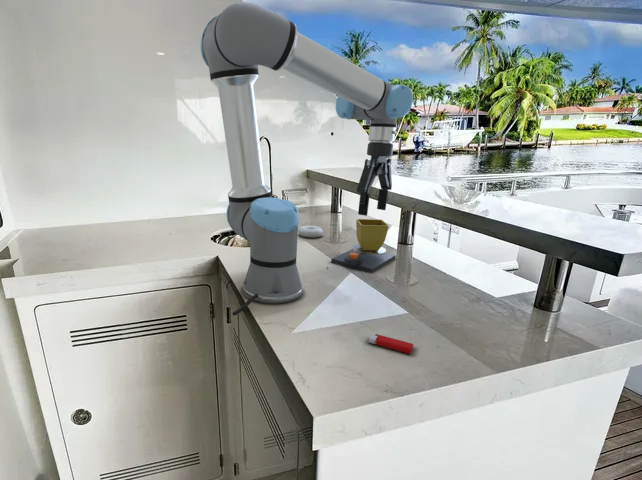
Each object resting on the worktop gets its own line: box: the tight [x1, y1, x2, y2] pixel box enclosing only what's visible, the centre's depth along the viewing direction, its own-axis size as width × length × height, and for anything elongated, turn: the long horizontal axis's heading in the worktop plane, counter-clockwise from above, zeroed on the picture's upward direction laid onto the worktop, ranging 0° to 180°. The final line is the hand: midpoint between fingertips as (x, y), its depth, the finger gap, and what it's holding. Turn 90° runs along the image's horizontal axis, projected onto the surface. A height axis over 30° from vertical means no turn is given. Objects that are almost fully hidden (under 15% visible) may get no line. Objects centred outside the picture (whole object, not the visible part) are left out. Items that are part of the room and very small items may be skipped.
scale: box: [330, 249, 397, 274], centre depth 123 cm, size 19×14×3 cm
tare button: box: [349, 253, 358, 259], centre depth 118 cm, size 3×3×2 cm
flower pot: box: [355, 218, 390, 251], centre depth 124 cm, size 9×9×9 cm
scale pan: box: [351, 244, 387, 255], centre depth 125 cm, size 11×11×1 cm
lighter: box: [368, 333, 414, 355], centre depth 74 cm, size 3×1×8 cm
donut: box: [298, 225, 324, 239], centre depth 153 cm, size 10×4×10 cm
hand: (372, 212), depth 121 cm, fingers open, 13 cm apart
